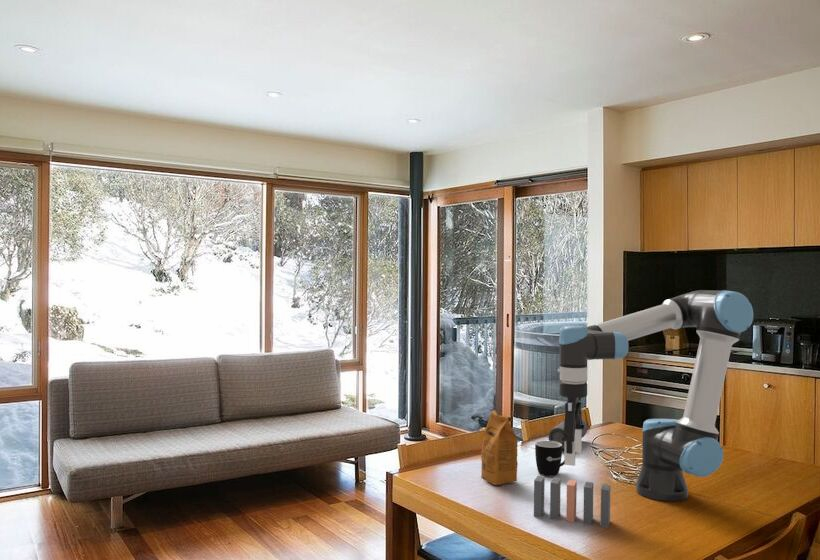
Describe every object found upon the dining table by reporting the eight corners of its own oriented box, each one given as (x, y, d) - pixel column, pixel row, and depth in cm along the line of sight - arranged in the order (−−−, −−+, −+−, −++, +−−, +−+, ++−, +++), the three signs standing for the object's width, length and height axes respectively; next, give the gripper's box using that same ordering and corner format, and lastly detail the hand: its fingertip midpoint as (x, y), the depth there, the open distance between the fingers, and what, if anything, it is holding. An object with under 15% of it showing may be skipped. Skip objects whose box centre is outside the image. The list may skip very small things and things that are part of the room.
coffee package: (503, 473, 219) (504, 408, 219) (520, 484, 208) (521, 416, 207) (476, 475, 216) (477, 410, 216) (492, 487, 204) (493, 418, 204)
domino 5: (609, 521, 177) (610, 484, 177) (608, 527, 173) (608, 490, 173) (602, 519, 178) (602, 483, 178) (600, 526, 173) (601, 489, 173)
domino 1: (544, 511, 184) (544, 476, 184) (540, 517, 179) (541, 481, 179) (537, 510, 185) (537, 475, 185) (533, 516, 180) (534, 480, 180)
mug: (543, 478, 214) (544, 448, 214) (529, 470, 222) (530, 441, 222) (574, 475, 218) (575, 445, 218) (559, 467, 227) (560, 439, 226)
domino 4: (592, 518, 179) (593, 482, 179) (590, 524, 174) (591, 488, 174) (585, 517, 180) (586, 481, 180) (583, 523, 175) (583, 487, 175)
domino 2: (560, 513, 182) (560, 478, 182) (557, 519, 178) (557, 483, 178) (553, 512, 183) (553, 477, 183) (549, 518, 178) (550, 482, 178)
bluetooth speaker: (570, 454, 244) (570, 428, 244) (546, 450, 249) (547, 424, 249) (589, 441, 263) (589, 417, 263) (566, 438, 269) (567, 414, 268)
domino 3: (576, 516, 181) (576, 480, 181) (573, 522, 176) (574, 485, 176) (568, 515, 181) (569, 479, 181) (566, 521, 177) (566, 484, 177)
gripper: (566, 374, 191) (566, 445, 192) (552, 388, 168) (552, 469, 168) (592, 375, 189) (592, 448, 189) (581, 390, 165) (581, 472, 166)
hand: (573, 458), depth 179 cm, fingers open, 13 cm apart
